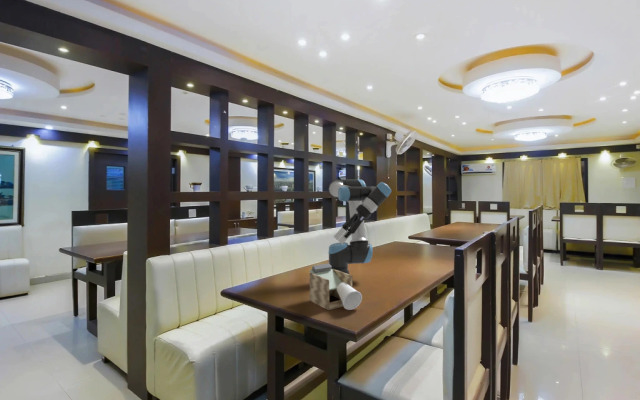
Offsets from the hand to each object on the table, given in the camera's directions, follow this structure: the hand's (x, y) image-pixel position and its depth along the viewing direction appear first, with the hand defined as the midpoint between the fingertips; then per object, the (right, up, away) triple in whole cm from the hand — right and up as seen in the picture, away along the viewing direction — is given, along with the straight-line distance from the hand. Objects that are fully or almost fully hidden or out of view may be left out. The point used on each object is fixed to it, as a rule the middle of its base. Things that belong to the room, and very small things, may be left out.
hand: (337, 240), depth 156 cm
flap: (-5, -20, +3) cm, 21 cm away
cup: (+2, -23, -1) cm, 23 cm away
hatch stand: (-3, -31, +1) cm, 31 cm away
